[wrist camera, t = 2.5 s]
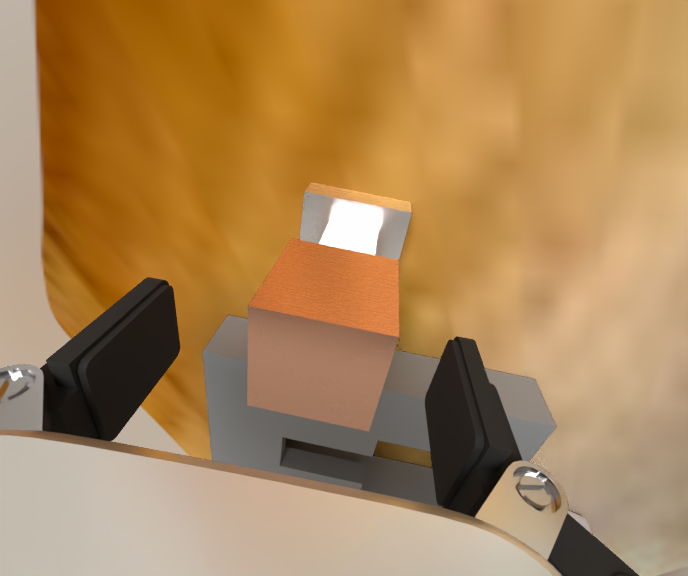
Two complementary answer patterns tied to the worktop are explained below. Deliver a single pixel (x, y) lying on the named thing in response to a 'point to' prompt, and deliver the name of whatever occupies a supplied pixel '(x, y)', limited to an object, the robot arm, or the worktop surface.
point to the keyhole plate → (344, 442)
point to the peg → (330, 310)
